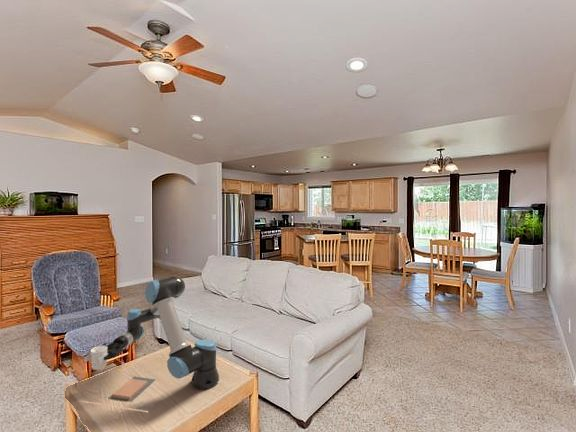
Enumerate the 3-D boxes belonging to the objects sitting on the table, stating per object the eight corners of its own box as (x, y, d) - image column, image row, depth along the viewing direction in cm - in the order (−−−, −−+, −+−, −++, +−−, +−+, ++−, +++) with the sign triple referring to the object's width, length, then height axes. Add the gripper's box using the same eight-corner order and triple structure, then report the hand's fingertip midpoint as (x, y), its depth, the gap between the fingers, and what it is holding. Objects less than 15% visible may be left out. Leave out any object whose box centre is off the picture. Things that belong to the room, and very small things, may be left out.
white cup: (102, 370, 162) (102, 352, 162) (87, 370, 162) (87, 352, 162) (110, 362, 170) (110, 345, 170) (96, 363, 170) (95, 345, 169)
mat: (156, 380, 173) (156, 379, 173) (131, 402, 154) (131, 401, 154) (134, 377, 176) (134, 376, 176) (107, 399, 156) (107, 398, 156)
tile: (147, 381, 169) (129, 396, 155) (147, 384, 169) (129, 400, 155) (131, 378, 171) (112, 394, 157) (131, 381, 171) (112, 397, 157)
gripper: (137, 349, 182) (108, 369, 159) (108, 345, 186) (75, 365, 163) (137, 337, 181) (108, 356, 159) (108, 333, 185) (75, 351, 163)
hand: (91, 360), depth 161 cm, fingers closed on white cup, 8 cm apart
